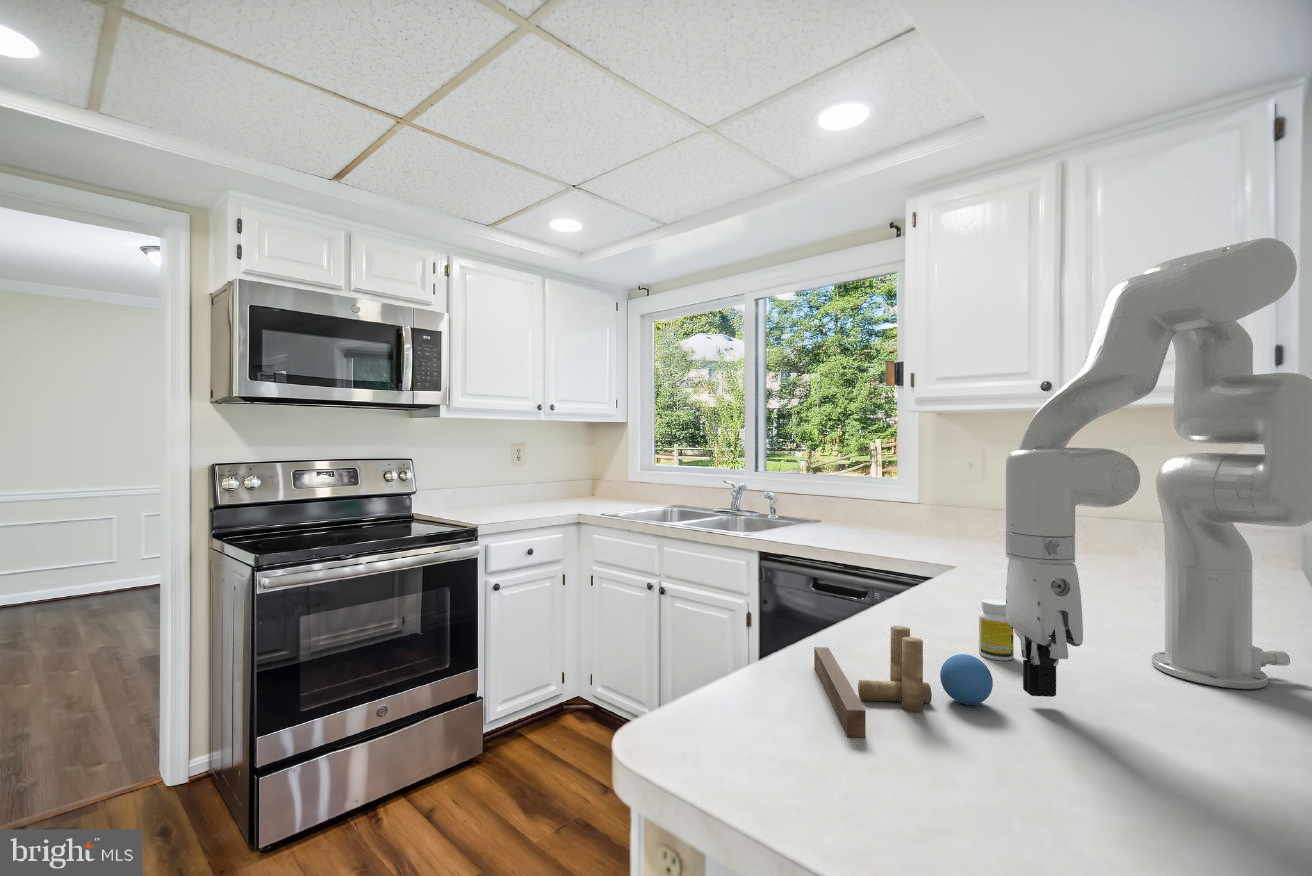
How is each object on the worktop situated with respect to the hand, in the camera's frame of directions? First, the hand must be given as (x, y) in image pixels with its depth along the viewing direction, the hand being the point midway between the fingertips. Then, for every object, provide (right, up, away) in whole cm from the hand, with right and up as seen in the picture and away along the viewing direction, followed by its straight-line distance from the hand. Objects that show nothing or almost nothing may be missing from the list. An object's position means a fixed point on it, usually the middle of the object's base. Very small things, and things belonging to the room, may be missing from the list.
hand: (1039, 693), depth 80 cm
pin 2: (-16, -1, -1) cm, 17 cm away
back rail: (-25, -1, +2) cm, 25 cm away
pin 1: (-16, -1, +4) cm, 17 cm away
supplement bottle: (+5, -2, +19) cm, 19 cm away
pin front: (-13, 0, +1) cm, 14 cm away
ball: (-9, +1, +1) cm, 9 cm away
